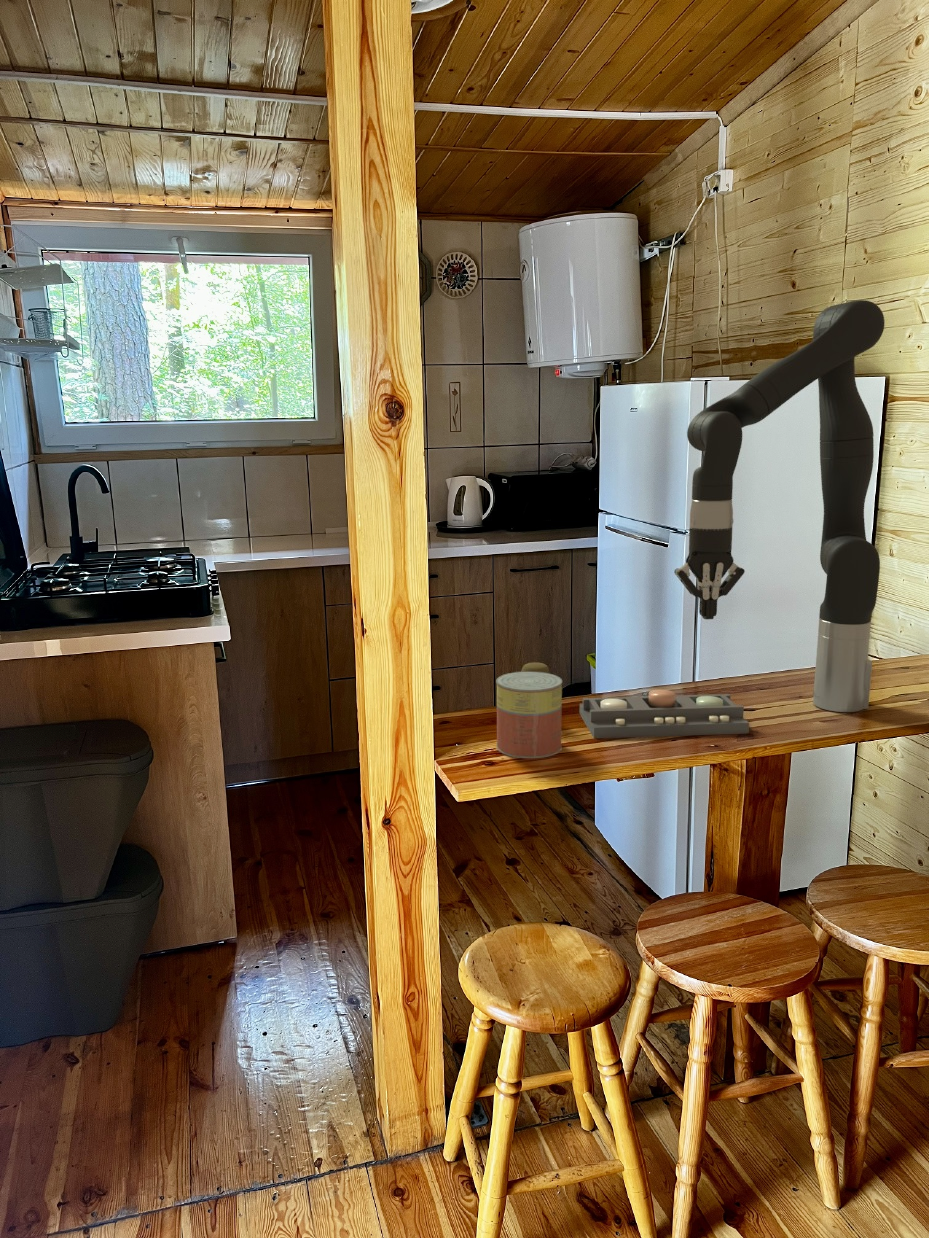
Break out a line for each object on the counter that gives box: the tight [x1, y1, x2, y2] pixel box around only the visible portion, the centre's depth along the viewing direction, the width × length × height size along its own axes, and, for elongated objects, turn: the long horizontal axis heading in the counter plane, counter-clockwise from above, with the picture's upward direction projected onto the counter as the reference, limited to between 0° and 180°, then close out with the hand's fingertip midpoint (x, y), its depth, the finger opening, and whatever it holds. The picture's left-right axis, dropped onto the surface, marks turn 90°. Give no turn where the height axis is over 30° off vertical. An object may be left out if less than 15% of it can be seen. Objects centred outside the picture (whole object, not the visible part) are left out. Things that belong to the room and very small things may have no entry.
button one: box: [600, 699, 627, 710], centre depth 171 cm, size 5×5×2 cm
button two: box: [696, 696, 723, 707], centre depth 172 cm, size 5×5×2 cm
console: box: [579, 693, 750, 739], centre depth 171 cm, size 28×14×4 cm, turn 94°
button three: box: [648, 688, 676, 708], centre depth 171 cm, size 5×5×2 cm
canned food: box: [495, 671, 563, 759], centre depth 159 cm, size 11×11×12 cm
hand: (707, 618), depth 171 cm, fingers closed
